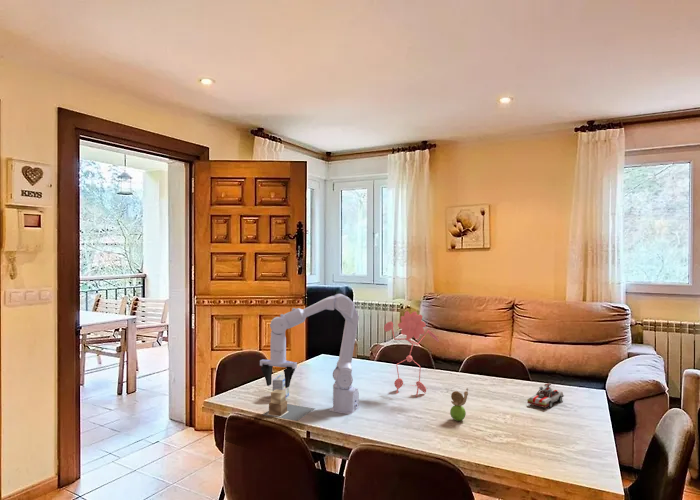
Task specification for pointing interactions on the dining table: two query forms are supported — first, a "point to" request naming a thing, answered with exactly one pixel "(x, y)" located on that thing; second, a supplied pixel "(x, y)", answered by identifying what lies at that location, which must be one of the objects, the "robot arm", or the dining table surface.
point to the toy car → (546, 397)
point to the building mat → (293, 412)
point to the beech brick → (278, 396)
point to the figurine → (410, 328)
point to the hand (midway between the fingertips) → (278, 386)
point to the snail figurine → (458, 405)
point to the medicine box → (280, 384)
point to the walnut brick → (278, 408)
